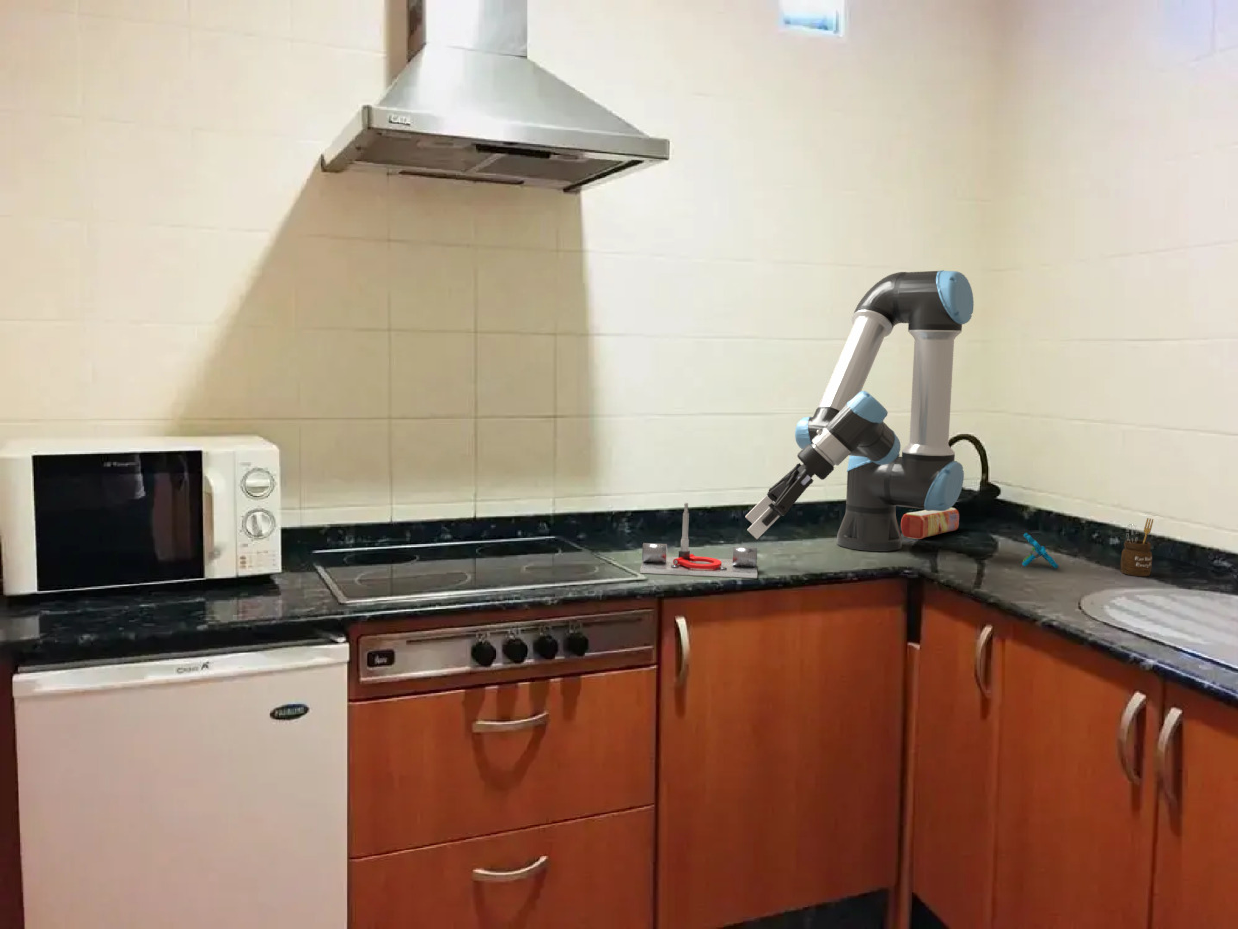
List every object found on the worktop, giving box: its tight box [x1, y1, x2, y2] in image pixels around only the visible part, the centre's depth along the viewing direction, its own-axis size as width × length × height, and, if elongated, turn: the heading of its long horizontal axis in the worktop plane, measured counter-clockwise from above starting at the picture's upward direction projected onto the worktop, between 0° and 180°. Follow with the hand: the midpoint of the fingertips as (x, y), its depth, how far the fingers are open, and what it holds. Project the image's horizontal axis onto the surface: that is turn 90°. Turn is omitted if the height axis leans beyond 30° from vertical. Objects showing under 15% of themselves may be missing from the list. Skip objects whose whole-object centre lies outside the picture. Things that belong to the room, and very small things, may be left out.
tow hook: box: [673, 502, 722, 569], centre depth 215 cm, size 8×13×9 cm
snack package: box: [900, 506, 960, 540], centre depth 265 cm, size 21×7×7 cm, turn 137°
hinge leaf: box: [639, 542, 758, 579], centre depth 217 cm, size 13×24×5 cm, turn 84°
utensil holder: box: [1120, 517, 1154, 577], centre depth 221 cm, size 6×6×12 cm
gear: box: [1021, 532, 1059, 569], centre depth 227 cm, size 11×6×10 cm
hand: (750, 527), depth 215 cm, fingers open, 13 cm apart
